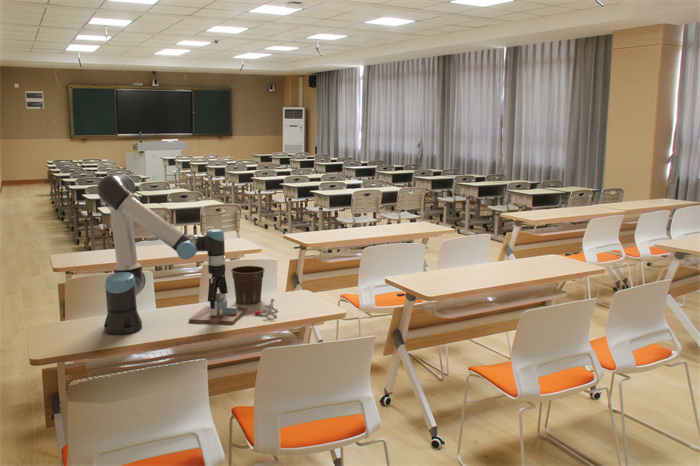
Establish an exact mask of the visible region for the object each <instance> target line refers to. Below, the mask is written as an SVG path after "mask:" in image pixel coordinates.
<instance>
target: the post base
mask: <svg viewBox="0 0 700 466" xmlns="http://www.w3.org/2000/svg"><path fill="white" fill-rule="evenodd" d="M221 301H222V300H221V293H220V292H217V295H216V302H221ZM236 307H237V306H236ZM247 309H248V307H237V314H236V315H233V314H225V315H222V316H223V317H222V318H220V316H212V315H211V314H210V305H205V306H204V307H202V308H201V309H200V310H199V311H198V312H196V313H194V314H193V316H191V317H190V318H189V319H188V323H191V324H193V323H195V324H213V325H217V324H218V325H234V324H235V323H236V322H237V321H238V320H239V319H240V318H241V317H242V316H243V315H244V314H246V312H247V311H248V310H247Z"/></svg>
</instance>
